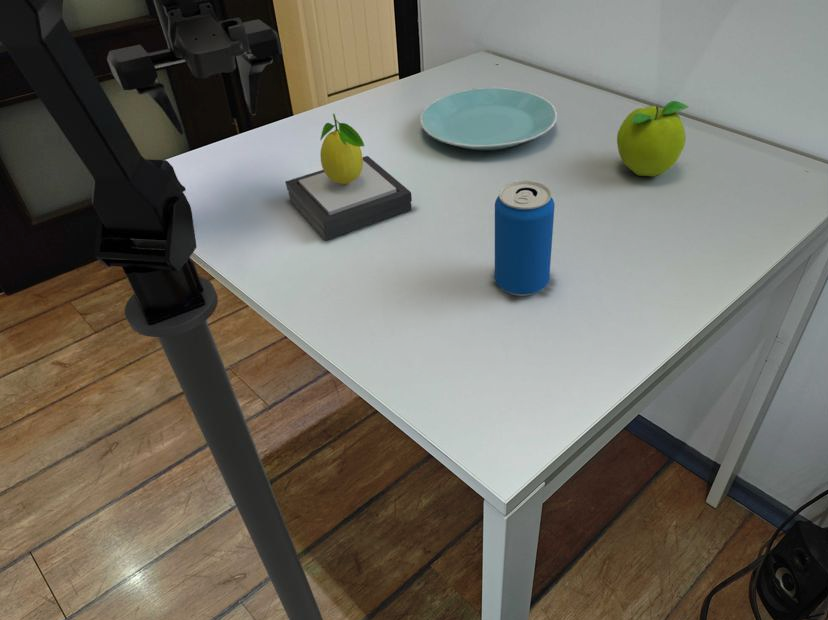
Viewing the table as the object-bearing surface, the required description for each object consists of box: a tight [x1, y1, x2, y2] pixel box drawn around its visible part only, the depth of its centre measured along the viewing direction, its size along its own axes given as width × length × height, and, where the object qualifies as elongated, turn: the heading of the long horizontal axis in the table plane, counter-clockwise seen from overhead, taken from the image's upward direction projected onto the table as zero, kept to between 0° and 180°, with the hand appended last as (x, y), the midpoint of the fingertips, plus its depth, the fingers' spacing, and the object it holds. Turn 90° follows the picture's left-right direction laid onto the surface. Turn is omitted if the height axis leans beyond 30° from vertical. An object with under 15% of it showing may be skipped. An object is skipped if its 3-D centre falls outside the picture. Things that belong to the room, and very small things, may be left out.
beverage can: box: [494, 180, 556, 297], centre depth 75 cm, size 6×6×12 cm
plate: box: [419, 86, 558, 151], centre depth 108 cm, size 22×22×3 cm
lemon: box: [319, 113, 365, 185], centre depth 88 cm, size 7×6×10 cm
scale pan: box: [299, 161, 397, 216], centre depth 92 cm, size 10×10×2 cm
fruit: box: [616, 100, 689, 177], centre depth 95 cm, size 9×9×10 cm
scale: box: [285, 155, 413, 241], centre depth 92 cm, size 13×13×3 cm
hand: (217, 123), depth 84 cm, fingers open, 9 cm apart
